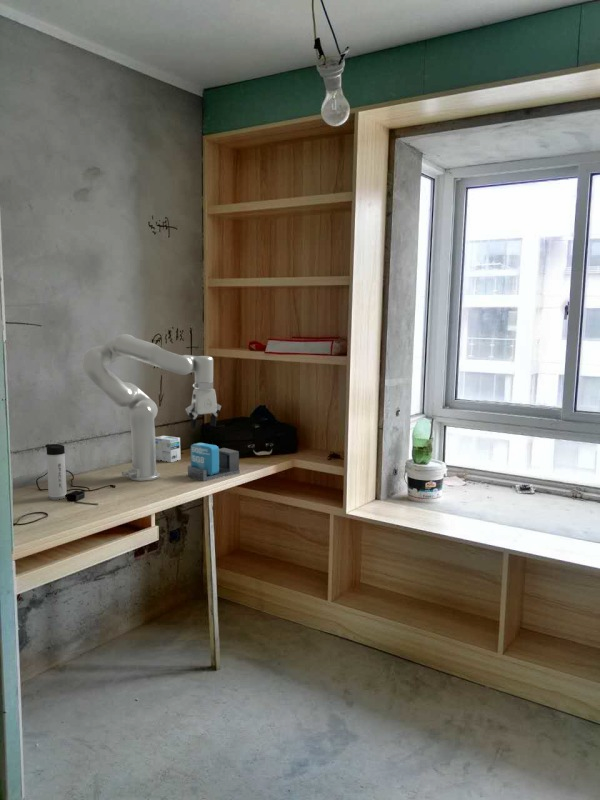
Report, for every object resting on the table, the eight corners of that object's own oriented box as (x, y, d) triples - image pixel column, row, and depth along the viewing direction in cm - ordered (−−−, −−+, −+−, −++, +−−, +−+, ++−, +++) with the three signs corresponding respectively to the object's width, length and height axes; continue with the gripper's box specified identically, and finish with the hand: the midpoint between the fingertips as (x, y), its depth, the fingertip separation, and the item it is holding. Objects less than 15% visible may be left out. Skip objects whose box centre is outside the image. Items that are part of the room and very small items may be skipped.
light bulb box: (181, 460, 296) (180, 437, 294) (171, 462, 290) (170, 439, 288) (164, 457, 301) (163, 435, 300) (154, 459, 296) (153, 437, 294)
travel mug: (51, 495, 236) (48, 442, 233) (69, 495, 236) (66, 442, 234) (45, 500, 230) (42, 446, 227) (63, 500, 230) (61, 446, 228)
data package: (190, 471, 266) (190, 443, 265) (198, 469, 270) (198, 442, 268) (211, 476, 260) (211, 447, 258) (219, 473, 263) (219, 445, 262)
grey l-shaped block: (203, 481, 258) (203, 458, 256) (187, 476, 265) (187, 454, 264) (239, 473, 271) (239, 451, 270) (223, 468, 279) (223, 447, 277)
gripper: (191, 388, 251) (191, 430, 254) (226, 385, 263) (225, 426, 266) (181, 386, 257) (180, 428, 259) (215, 384, 269) (214, 423, 271)
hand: (203, 427), depth 262 cm, fingers open, 9 cm apart
